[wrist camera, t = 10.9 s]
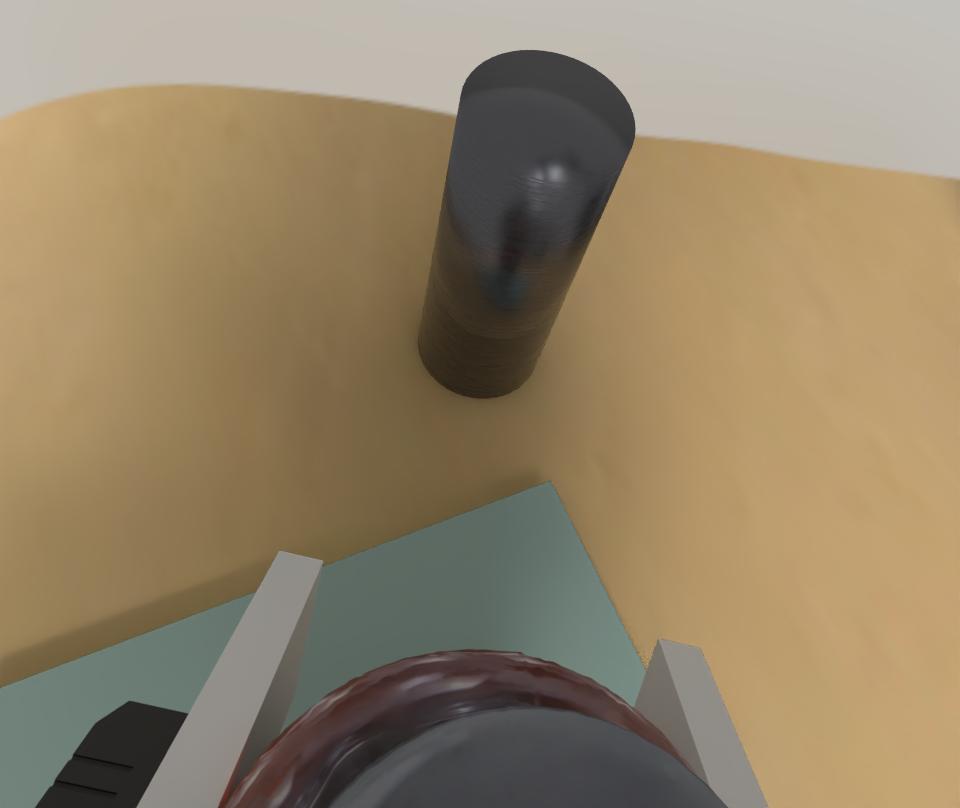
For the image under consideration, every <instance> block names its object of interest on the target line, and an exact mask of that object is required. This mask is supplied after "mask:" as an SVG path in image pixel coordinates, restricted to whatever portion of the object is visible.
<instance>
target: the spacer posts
mask: <svg viewBox="0 0 960 808" xmlns="http://www.w3.org/2000/svg"><path fill="white" fill-rule="evenodd" d="M634 138H635V121H634V117H633V113H632V110H631V108H630V105H629V104H628V102H627V100H626V98H625V97H624V95H623V94H622V93H621V91H620V90H619V89H618V88H617V87H616V86H615V85H614V84H613V83H612V82H611V81H610V80H609V79H608V78H607V77H605V76H604V75H603V74H602V73H600V72H598V71H597V70H596V69H594V68H592V67H590V66H589V65H587V64H585V63H583V62H581V61H579V60H576V59H574V58H571V57H568V56H565V55H561V54H558V53H553V52H547V51H538V50H520V51H512V52H508V53H504V54H500V55H497V56H495V57H492V58H490V59H488V60H486V61H484V62H483V63H482V64H480V65H479V66H478V67H476V68H475V70H474V71H472V73H471V74H470V75H469V77H468V78H467V79H466V82H465V83H464V86H463V88H462V92H461V97H460V103H459V108H458V114H457V120H456V125H455V131H454V137H453V143H452V148H451V154H450V160H449V165H448V171H447V177H446V183H445V188H444V194H443V200H442V205H441V211H440V217H439V223H438V228H437V234H436V240H435V245H434V251H433V257H432V263H431V268H430V274H429V280H428V285H427V291H426V297H425V303H424V308H423V314H422V320H421V325H420V331H419V339H418V344H419V352H420V356H421V358H422V361H423V363H424V365H425V367H426V368H427V370H428V371H429V373H430V374H431V375H432V376H433V377H434V378H435V379H436V380H437V381H438V382H439V383H440V384H442V385H443V386H445V387H446V388H448V389H449V390H451V391H453V392H455V393H458V394H461V395H464V396H468V397H472V398H494V397H499V396H503V395H505V394H508V393H510V392H512V391H514V390H516V389H517V388H519V387H520V386H521V385H522V384H523V383H524V382H525V381H526V380H527V379H528V378H529V376H530V375H531V373H532V371H533V369H534V367H535V365H536V363H537V360H538V358H539V356H540V354H541V351H542V349H543V347H544V345H545V342H546V340H547V338H548V336H549V333H550V331H551V329H552V327H553V324H554V322H555V320H556V317H557V315H558V313H559V311H560V308H561V306H562V304H563V302H564V299H565V297H566V295H567V293H568V290H569V288H570V286H571V284H572V281H573V279H574V277H575V274H576V272H577V270H578V268H579V265H580V263H581V261H582V259H583V256H584V254H585V252H586V250H587V247H588V245H589V243H590V241H591V238H592V236H593V234H594V232H595V229H596V227H597V225H598V222H599V220H600V218H601V216H602V213H603V211H604V209H605V207H606V204H607V202H608V200H609V198H610V195H611V193H612V191H613V189H614V186H615V184H616V182H617V179H618V177H619V175H620V173H621V170H622V168H623V166H624V164H625V161H626V159H627V157H628V155H629V152H630V150H631V148H632V145H633V142H634Z"/></svg>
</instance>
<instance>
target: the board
mask: <svg viewBox="0 0 960 808" xmlns="http://www.w3.org/2000/svg"><path fill="white" fill-rule="evenodd" d="M256 592H257V591H256ZM256 592H253V593H251V594H248V595H245V596H243V597H240V598H237V599H235V600H232V601H230V602H227V603H224V604H222V605H219V606H216V607H214V608H211V609H208V610H206V611H203V612H200V613H198V614H195V615H192V616H190V617H187V618H184V619H182V620H179V621H176V622H174V623H171V624H168V625H166V626H163V627H161V628H158V629H155V630H153V631H150V632H147V633H145V634H142V635H139V636H137V637H134V638H131V639H129V640H126V641H123V642H121V643H118V644H115V645H113V646H110V647H107V648H105V649H102V650H99V651H97V652H94V653H92V654H89V655H86V656H84V657H81V658H78V659H76V660H73V661H70V662H68V663H65V664H62V665H60V666H57V667H54V668H52V669H49V670H46V671H44V672H41V673H38V674H36V675H33V676H30V677H28V678H25V679H23V680H20V681H17V682H15V683H12V684H9V685H7V686H4V687H1V688H0V808H35V807H36V805H37V804H38V802H39V801H40V800H41V798H42V797H43V795H44V794H45V793H46V791H47V790H48V788H49V787H50V786H53V784H54V781H55V779H56V777H57V776H58V774H59V773H60V772H61V770H62V769H63V767H64V766H65V765H66V763H67V762H68V760H71V759H72V756H73V753H74V752H75V751H76V749H77V748H78V746H79V745H80V744H81V742H82V741H83V739H84V738H85V737H86V735H87V734H88V732H89V731H90V730H91V728H92V727H93V725H94V724H95V723H96V722H98V721H99V720H101V719H102V718H104V717H105V716H107V715H108V714H110V713H111V712H113V711H114V710H116V709H117V708H119V707H120V706H122V705H123V704H125V703H126V702H128V701H129V700H130V701H134V702H139V703H143V704H148V705H152V706H157V707H161V708H166V709H171V710H175V711H180V712H184V713H189V712H190V710H191V709H192V707H193V705H194V703H195V701H196V700H197V698H198V696H199V694H200V692H201V691H202V689H203V687H204V685H205V683H206V682H207V680H208V678H209V676H210V674H211V673H212V671H213V669H214V667H215V665H216V664H217V662H218V660H219V658H220V656H221V655H222V653H223V651H224V649H225V647H226V646H227V644H228V642H229V640H230V638H231V637H232V635H233V633H234V631H235V629H236V628H237V626H238V624H239V622H240V620H241V619H242V617H243V615H244V613H245V611H246V610H247V608H248V606H249V604H250V602H251V601H252V599H253V597H254V595H255V593H256ZM463 649H474V650H482V649H485V650H496V651H512V652H522V653H523V654H525V655H527V656H531V657H535V658H541V659H542V660H545V661H553V662H555V663H557V664H559V665H561V666H563V667H565V668H568V669H570V670H573V671H575V672H576V673H579V674H581V675H583V676H587V677H590V678H592V679H593V680H595V681H596V682H597V683H599V684H600V685H602V686H605V687H607V688H608V689H609V690H610V691H612V692H613V693H615V694H617V695H618V696H620V697H621V698H622V699H623V700H625V701H626V702H627V703H628V704H629V705H630V706H631V707H633V708H634V705H635V702H636V699H637V696H638V694H639V691H640V688H641V685H642V683H643V680H644V677H645V674H646V670H645V668H644V666H643V664H642V662H641V660H640V658H639V656H638V654H637V652H636V650H635V648H634V646H633V644H632V642H631V640H630V638H629V636H628V634H627V632H626V630H625V628H624V626H623V624H622V622H621V620H620V618H619V616H618V614H617V612H616V610H615V608H614V606H613V604H612V602H611V600H610V598H609V596H608V594H607V592H606V590H605V588H604V586H603V584H602V582H601V580H600V578H599V576H598V574H597V572H596V570H595V568H594V566H593V564H592V562H591V560H590V558H589V556H588V554H587V552H586V550H585V548H584V546H583V544H582V542H581V540H580V538H579V536H578V534H577V532H576V530H575V528H574V526H573V524H572V522H571V520H570V518H569V516H568V514H567V512H566V510H565V508H564V506H563V504H562V502H561V500H560V498H559V496H558V494H557V492H556V490H555V488H554V486H553V484H552V482H551V481H548V482H545V483H543V484H540V485H537V486H535V487H532V488H529V489H527V490H524V491H521V492H519V493H516V494H513V495H511V496H508V497H506V498H503V499H500V500H498V501H495V502H492V503H490V504H487V505H484V506H482V507H479V508H476V509H474V510H471V511H468V512H466V513H463V514H460V515H458V516H455V517H452V518H450V519H447V520H444V521H442V522H439V523H437V524H434V525H431V526H429V527H426V528H423V529H421V530H418V531H415V532H413V533H410V534H407V535H405V536H402V537H399V538H397V539H394V540H391V541H389V542H386V543H383V544H381V545H378V546H375V547H373V548H370V549H368V550H365V551H362V552H360V553H357V554H354V555H352V556H349V557H346V558H344V559H341V560H338V561H336V562H333V563H330V564H328V565H325V566H322V571H321V575H320V580H319V585H318V589H317V594H316V598H315V603H314V608H313V612H312V617H311V622H310V626H309V631H308V635H307V640H306V645H305V649H304V654H303V658H302V663H301V668H300V672H299V677H298V682H297V686H296V691H295V695H294V698H293V700H292V703H291V706H290V708H289V711H288V714H287V716H286V719H285V722H284V724H283V727H282V730H281V732H280V734H281V733H282V732H283V731H284V730H285V728H287V727H288V726H289V725H290V724H292V723H293V722H294V721H295V720H297V719H298V718H299V717H300V716H302V715H303V714H304V713H305V712H306V711H307V710H308V709H310V708H311V707H312V706H314V705H315V704H316V703H318V702H319V701H320V700H322V699H323V698H324V697H325V696H326V695H327V694H328V693H330V692H332V691H333V690H335V689H337V688H339V687H341V686H343V685H345V684H346V683H347V682H348V681H349V680H351V679H353V678H356V677H360V676H362V675H363V674H365V673H366V672H368V671H371V670H373V669H376V668H378V667H381V666H383V665H386V664H390V663H393V662H395V661H398V660H400V659H403V658H409V657H414V656H419V655H423V654H429V653H435V652H437V651H452V650H463Z"/></svg>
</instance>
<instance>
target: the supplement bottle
mask: <svg viewBox="0 0 960 808" xmlns="http://www.w3.org/2000/svg"><path fill="white" fill-rule="evenodd" d="M224 808H728V807H727V806H726V805H725V804H724V803H723V801H722V800H721V799H720V798H719V797H718V796H717V795H716V794H715V792H714V791H713V790H712V789H711V788H710V787H709V786H708V785H707V784H706V783H705V782H704V781H702V780H701V779H700V778H699V777H698V776H697V774H696V772H695V770H694V769H693V767H692V766H691V765H690V764H689V762H688V761H687V760H686V759H685V758H684V756H683V755H682V754H681V753H680V752H679V751H678V750H677V749H676V748H675V747H674V746H673V745H672V744H671V742H670V741H669V740H668V739H667V738H666V736H665V735H664V734H663V733H662V732H661V731H660V730H659V729H658V728H656V727H655V726H654V725H653V724H652V723H651V722H650V721H649V720H647V719H646V718H645V717H644V716H643V715H642V713H640V712H639V711H638V710H636V709H635V708H633V707H631V706H630V705H629V704H628V703H627V702H626V701H625V700H623V699H622V698H621V697H620V696H618V695H617V694H615V693H613V692H612V691H610V690H609V689H608V688H607V687H605V686H602V685H600V684H599V683H597V682H596V681H595V680H593V679H592V678H590V677H587V676H583V675H581V674H579V673H576V672H575V671H573V670H570V669H568V668H565V667H563V666H561V665H559V664H557V663H555V662H553V661H545V660H542V659H541V658H535V657H531V656H527V655H525V654H523V653H522V652H512V651H496V650H485V649H482V650H474V649H463V650H452V651H437V652H435V653H429V654H423V655H419V656H414V657H409V658H403V659H400V660H398V661H395V662H393V663H390V664H386V665H383V666H381V667H378V668H376V669H373V670H371V671H368V672H366V673H365V674H363V675H362V676H360V677H356V678H353V679H351V680H349V681H348V682H347V683H346V684H345V685H343V686H341V687H339V688H337V689H335V690H333V691H332V692H330V693H328V694H327V695H326V696H325V697H324V698H323V699H322V700H320V701H319V702H318V703H316V704H315V705H314V706H312V707H311V708H310V709H308V710H307V711H306V712H305V713H304V714H303V715H302V716H300V717H299V718H298V719H297V720H295V721H294V722H293V723H292V724H290V725H289V726H288V727H287V728H285V730H284V731H283V732H282V733H281V734H280V735H279V736H278V737H277V738H275V739H274V740H273V741H272V742H271V744H270V745H269V746H268V747H267V748H266V749H265V750H264V751H263V752H262V753H261V754H260V756H259V757H258V758H257V759H256V761H255V762H254V764H253V765H252V767H251V768H250V770H249V771H248V772H247V773H246V774H245V776H244V777H243V778H242V780H241V781H240V783H239V784H238V786H237V787H236V789H235V791H234V792H233V794H232V795H231V797H230V799H229V800H228V802H227V803H226V805H225V807H224Z"/></svg>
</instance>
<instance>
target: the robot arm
mask: <svg viewBox="0 0 960 808" xmlns="http://www.w3.org/2000/svg"><path fill="white" fill-rule="evenodd" d="M323 562H324V561H323V560H319V559H314V558H310V557H306V556H302V555H297V554H293V553H289V552H284V551H280V550H279V552H278V554H277V556H276V557H275V559H274V561H273V563H272V565H271V566H270V568H269V570H268V572H267V574H266V575H265V577H264V579H263V581H262V583H261V584H260V586H259V588H258V590H257V592H256V593H255V595H254V597H253V599H252V601H251V602H250V604H249V606H248V608H247V610H246V611H245V613H244V615H243V617H242V619H241V620H240V622H239V624H238V626H237V628H236V629H235V631H234V633H233V635H232V637H231V638H230V640H229V642H228V644H227V646H226V647H225V649H224V651H223V653H222V655H221V656H220V658H219V660H218V662H217V664H216V665H215V667H214V669H213V671H212V673H211V674H210V676H209V678H208V680H207V682H206V683H205V685H204V687H203V689H202V691H201V692H200V694H199V696H198V698H197V700H196V701H195V703H194V705H193V707H192V709H191V710H190V712H189V713H184V712H180V711H175V710H171V709H166V708H161V707H157V706H152V705H148V704H143V703H139V702H134V701H130V700H129V701H128V702H126V703H125V704H123V705H122V706H120V707H119V708H117V709H116V710H114V711H113V712H111V713H110V714H108V715H107V716H105V717H104V718H102V719H101V720H99V721H98V722H96V723H95V724H94V725H93V727H92V728H91V730H90V731H89V732H88V734H87V735H86V737H85V738H84V739H83V741H82V742H81V744H80V745H79V746H78V748H77V749H76V751H75V752H74V753H73V756H72V759H71V760H68V762H67V763H66V765H65V766H64V767H63V769H62V770H61V772H60V773H59V774H58V776H57V777H56V779H55V781H54V784H53V786H50V787H49V788H48V790H47V791H46V793H45V794H44V795H43V797H42V798H41V800H40V801H39V802H38V804H37V805H36V807H35V808H224V807H225V805H226V803H227V802H228V800H229V799H230V797H231V795H232V794H233V792H234V791H235V789H236V787H237V786H238V784H239V783H240V781H241V780H242V778H243V777H244V776H245V774H246V773H247V772H248V771H249V770H250V768H251V767H252V765H253V764H254V762H255V761H256V759H257V758H258V757H259V756H260V754H261V753H262V752H263V751H264V750H265V749H266V748H267V747H268V746H269V745H270V744H271V742H272V741H273V740H274V739H275V738H277V737H278V736H279V735H280V732H281V730H282V727H283V724H284V722H285V719H286V716H287V714H288V711H289V708H290V706H291V703H292V700H293V698H294V695H295V691H296V686H297V682H298V677H299V672H300V668H301V663H302V658H303V654H304V649H305V645H306V640H307V635H308V631H309V626H310V622H311V617H312V612H313V608H314V603H315V598H316V594H317V589H318V585H319V580H320V575H321V571H322V566H323ZM634 708H635V709H636V710H638V711H639V712H640V713H642V715H643V716H644V717H645V718H646V719H647V720H649V721H650V722H651V723H652V724H653V725H654V726H655V727H656V728H658V729H659V730H660V731H661V732H662V733H663V734H664V735H665V736H666V738H667V739H668V740H669V741H670V742H671V744H672V745H673V746H674V747H675V748H676V749H677V750H678V751H679V752H680V753H681V754H682V755H683V756H684V758H685V759H686V760H687V761H688V762H689V764H690V765H691V766H692V767H693V769H694V770H695V772H696V774H697V776H698V777H699V778H700V779H701V780H702V781H704V782H705V783H706V784H707V785H708V786H709V787H710V788H711V789H712V790H713V791H714V792H715V794H716V795H717V796H718V797H719V798H720V799H721V800H722V801H723V803H724V804H725V805H726V806H727V807H728V808H769V807H768V805H767V803H766V800H765V798H764V796H763V793H762V791H761V789H760V786H759V784H758V782H757V779H756V777H755V775H754V772H753V770H752V768H751V765H750V763H749V761H748V758H747V756H746V754H745V751H744V749H743V747H742V744H741V742H740V740H739V737H738V735H737V733H736V730H735V728H734V726H733V723H732V721H731V719H730V716H729V714H728V711H727V709H726V707H725V704H724V702H723V700H722V697H721V695H720V693H719V690H718V688H717V686H716V683H715V681H714V679H713V676H712V674H711V672H710V669H709V667H708V665H707V662H706V660H705V658H704V655H703V653H702V651H701V648H698V647H693V646H689V645H685V644H681V643H676V642H672V641H668V640H663V639H659V638H658V641H657V644H656V647H655V649H654V652H653V655H652V658H651V660H650V663H649V666H648V669H647V672H646V674H645V677H644V680H643V683H642V685H641V688H640V691H639V694H638V696H637V699H636V702H635V705H634Z"/></svg>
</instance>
